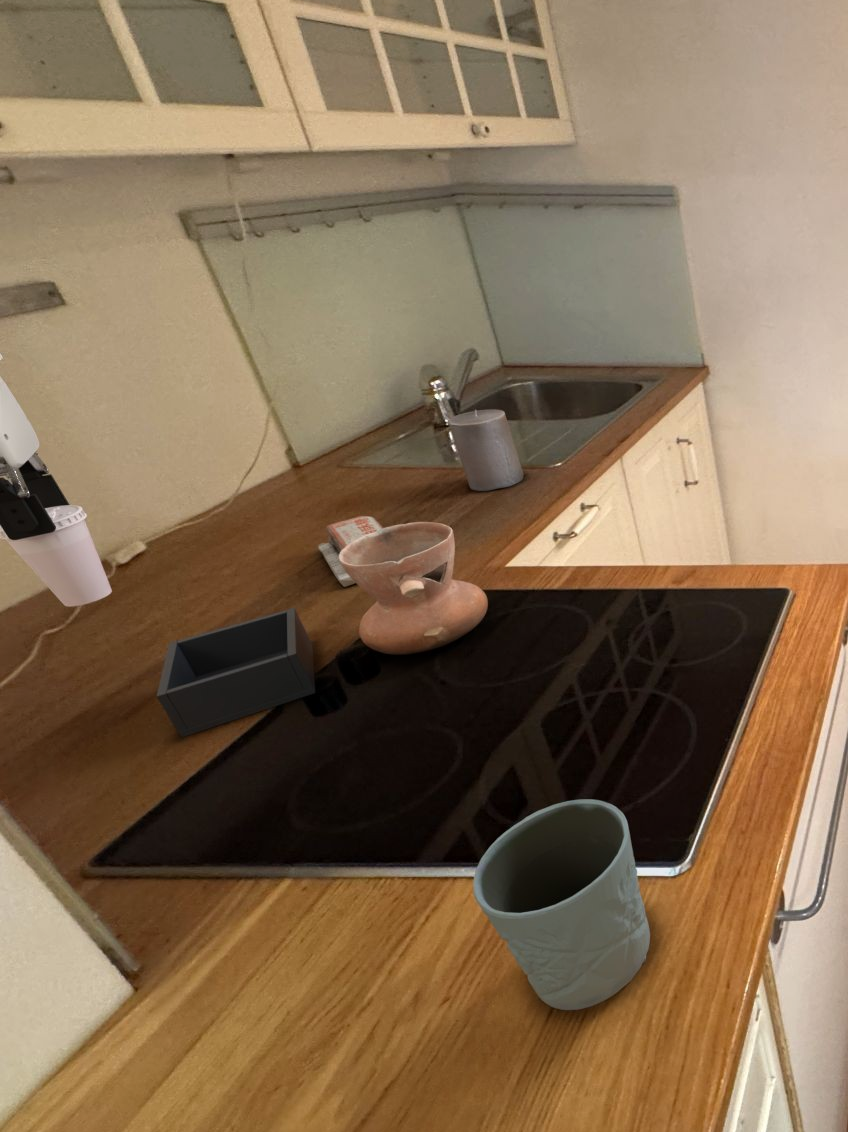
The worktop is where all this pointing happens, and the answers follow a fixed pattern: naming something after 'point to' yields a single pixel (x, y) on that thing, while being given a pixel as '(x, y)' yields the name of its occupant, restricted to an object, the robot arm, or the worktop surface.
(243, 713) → the bin
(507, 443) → the pillar candle
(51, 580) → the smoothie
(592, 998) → the embossed green plant pot
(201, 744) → the worktop surface
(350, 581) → the packaged product
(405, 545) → the pink clay vessel
